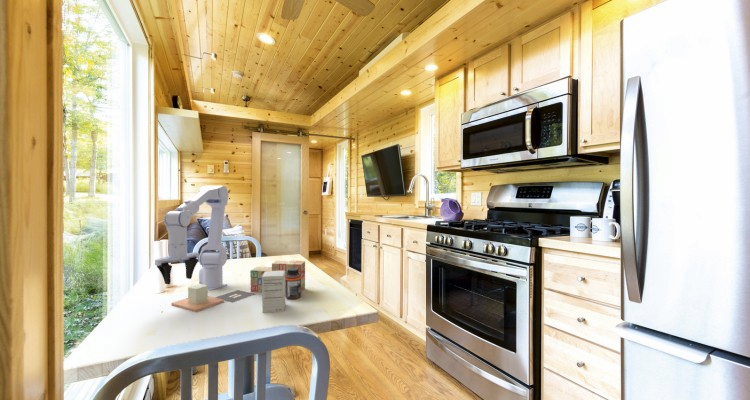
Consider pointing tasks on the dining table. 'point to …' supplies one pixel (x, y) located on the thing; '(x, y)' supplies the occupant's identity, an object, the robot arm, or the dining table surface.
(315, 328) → the dining table surface
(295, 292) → the supplement bottle
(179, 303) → the plate
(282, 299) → the supplement box
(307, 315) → the dining table surface
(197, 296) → the sage block
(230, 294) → the mat
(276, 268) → the stack of blocks
